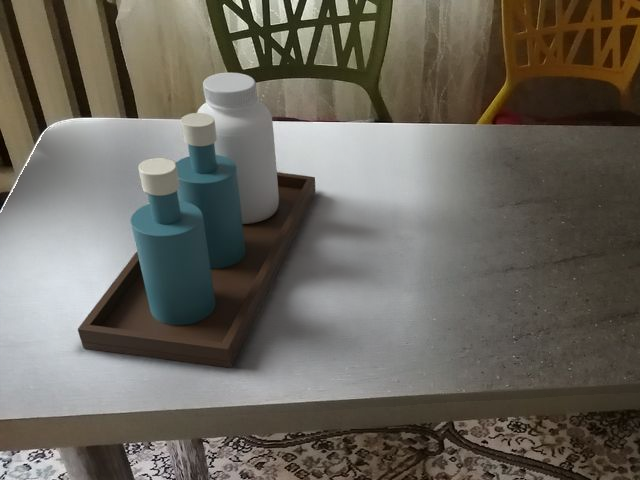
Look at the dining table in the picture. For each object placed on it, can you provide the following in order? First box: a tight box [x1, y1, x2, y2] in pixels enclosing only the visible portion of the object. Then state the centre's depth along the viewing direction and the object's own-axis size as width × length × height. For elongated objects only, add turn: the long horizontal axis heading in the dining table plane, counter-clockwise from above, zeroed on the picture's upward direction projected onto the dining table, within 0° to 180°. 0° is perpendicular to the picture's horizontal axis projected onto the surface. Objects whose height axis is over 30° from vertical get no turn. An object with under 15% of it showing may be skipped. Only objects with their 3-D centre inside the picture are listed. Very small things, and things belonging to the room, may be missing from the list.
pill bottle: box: [196, 72, 279, 224], centre depth 82 cm, size 8×8×15 cm
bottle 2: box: [175, 112, 245, 269], centre depth 75 cm, size 6×6×15 cm
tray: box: [77, 171, 316, 369], centre depth 79 cm, size 33×14×2 cm, turn 175°
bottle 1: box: [130, 157, 216, 325], centre depth 68 cm, size 6×6×15 cm
